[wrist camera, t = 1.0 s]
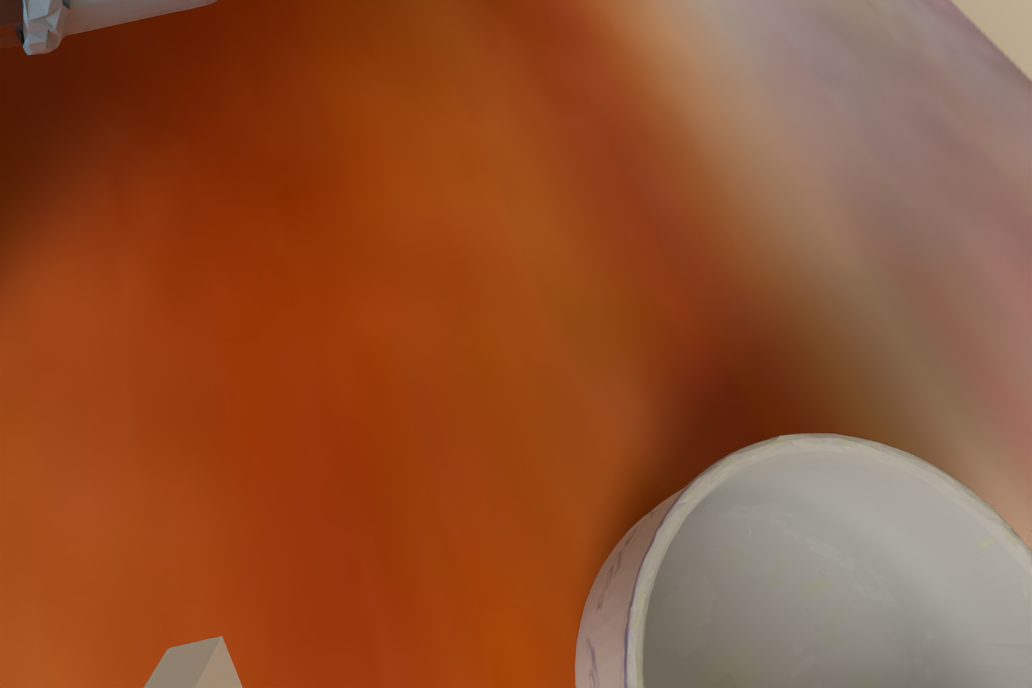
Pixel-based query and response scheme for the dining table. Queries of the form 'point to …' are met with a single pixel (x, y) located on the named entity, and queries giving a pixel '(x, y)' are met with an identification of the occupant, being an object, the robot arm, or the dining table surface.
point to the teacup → (813, 579)
